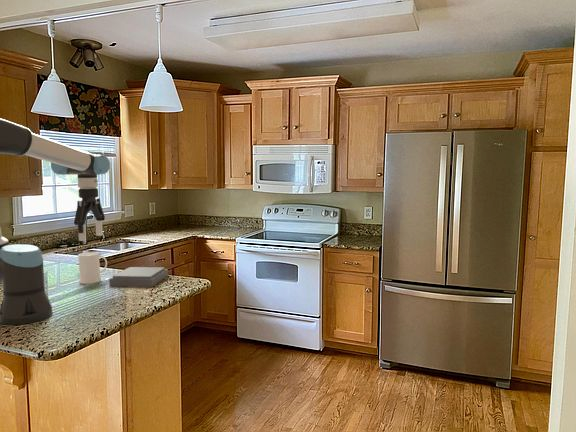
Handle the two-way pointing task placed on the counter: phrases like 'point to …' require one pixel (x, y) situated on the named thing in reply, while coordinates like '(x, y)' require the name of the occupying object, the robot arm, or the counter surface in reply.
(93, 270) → the mug
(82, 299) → the counter surface
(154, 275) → the podium
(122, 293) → the counter surface
